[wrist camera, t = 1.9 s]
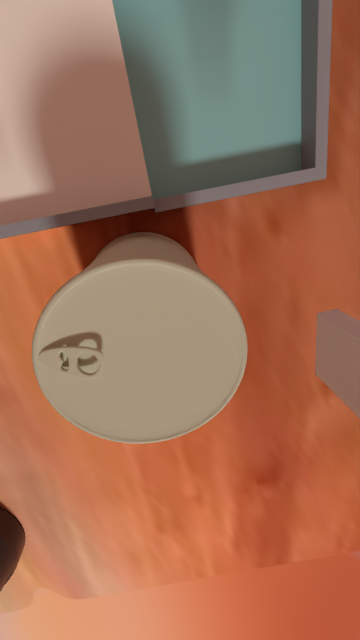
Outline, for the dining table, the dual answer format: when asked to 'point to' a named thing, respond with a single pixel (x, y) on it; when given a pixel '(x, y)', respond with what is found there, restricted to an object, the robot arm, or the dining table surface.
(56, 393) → the can
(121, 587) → the dining table surface
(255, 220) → the dining table surface
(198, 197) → the two-tone serving tray
